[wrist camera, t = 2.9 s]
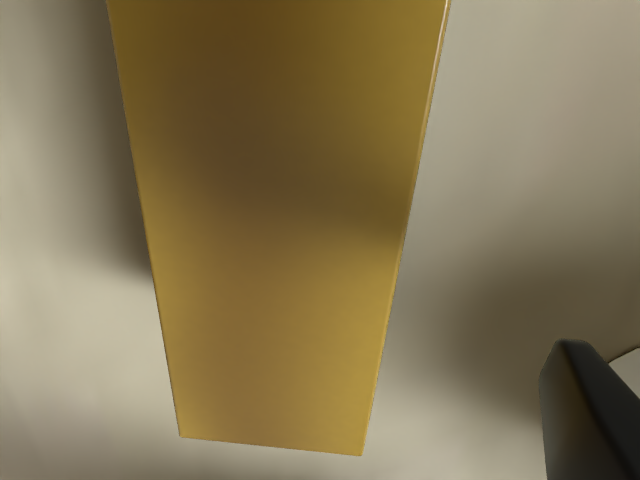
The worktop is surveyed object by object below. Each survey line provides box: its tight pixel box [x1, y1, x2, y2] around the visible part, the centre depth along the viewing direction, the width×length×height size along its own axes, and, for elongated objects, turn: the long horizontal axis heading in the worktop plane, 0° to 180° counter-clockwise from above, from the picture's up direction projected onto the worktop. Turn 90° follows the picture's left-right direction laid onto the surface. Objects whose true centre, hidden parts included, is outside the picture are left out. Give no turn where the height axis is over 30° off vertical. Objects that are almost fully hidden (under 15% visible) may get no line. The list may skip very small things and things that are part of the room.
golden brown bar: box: [106, 0, 451, 456], centre depth 12 cm, size 4×13×4 cm, turn 177°
